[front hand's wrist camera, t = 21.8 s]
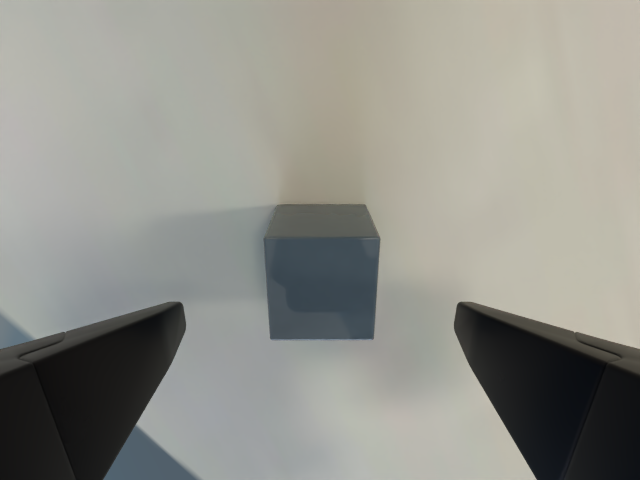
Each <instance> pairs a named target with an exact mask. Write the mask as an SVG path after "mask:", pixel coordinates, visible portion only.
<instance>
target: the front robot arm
mask: <svg viewBox="0 0 640 480" xmlns="http://www.w3.org/2000/svg"><path fill="white" fill-rule="evenodd" d="M185 330H186V321H185V315H184V308H183V305H182V303H181V302H167V303H163V304H160V305H157V306H153V307H150V308H146V309H143V310H139V311H136V312H132V313H129V314H125V315H122V316H118V317H115V318H112V319H108V320H105V321H101V322H98V323H94V324H91V325H87V326H84V327H80V328H77V329H73V330H70V331H67V332H66V333H65V332H61V333H58V334H54V335H51V336H47V337H44V338H40V339H37V340H33V341H29V342H26V343H22V344H18V345H14V346H11V347H7V348H3V349H0V480H103V479H104V477H105V476H106V474H107V472H108V471H109V469H110V467H111V465H112V464H113V462H114V460H115V459H116V457H117V455H118V454H119V452H120V450H121V448H122V447H123V445H124V443H125V442H126V440H127V438H128V437H129V435H130V433H131V432H132V430H133V428H134V426H135V425H136V423H137V421H138V420H139V418H140V416H141V415H142V413H143V411H144V410H145V408H146V406H147V404H148V403H149V401H150V399H151V398H152V396H153V394H154V393H155V391H156V389H157V387H158V386H159V384H160V382H161V381H162V379H163V377H164V376H165V374H166V372H167V371H168V369H169V367H170V365H171V363H172V361H173V359H174V356H175V354H176V352H177V349H178V347H179V345H180V342H181V340H182V338H183V335H184V333H185ZM454 330H455V333H456V335H457V338H458V340H459V342H460V345H461V347H462V349H463V352H464V354H465V356H466V359H467V361H468V363H469V365H470V367H471V369H472V371H473V372H474V374H475V376H476V377H477V379H478V381H479V382H480V384H481V386H482V387H483V389H484V391H485V393H486V394H487V396H488V398H489V399H490V401H491V403H492V404H493V406H494V408H495V410H496V411H497V413H498V415H499V416H500V418H501V420H502V421H503V423H504V425H505V426H506V428H507V430H508V432H509V433H510V435H511V437H512V438H513V440H514V442H515V443H516V445H517V447H518V448H519V450H520V452H521V454H522V455H523V457H524V459H525V460H526V462H527V464H528V465H529V467H530V469H531V471H532V472H533V474H534V476H535V477H536V479H537V480H640V349H637V348H633V347H629V346H626V345H622V344H618V343H614V342H611V341H607V340H603V339H600V338H596V337H593V336H589V335H586V334H582V333H579V332H575V333H574V332H573V331H570V330H567V329H563V328H560V327H556V326H553V325H549V324H546V323H542V322H539V321H535V320H532V319H528V318H525V317H522V316H518V315H515V314H511V313H508V312H504V311H501V310H497V309H494V308H490V307H487V306H483V305H480V304H477V303H473V302H459V303H458V305H457V308H456V315H455V321H454Z"/></svg>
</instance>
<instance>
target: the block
mask: <svg viewBox="0 0 640 480" xmlns="http://www.w3.org/2000/svg"><path fill="white" fill-rule="evenodd" d="M379 252H380V236H379V234H378V232H377V230H376V227H375V225H374V223H373V220H372V218H371V216H370V213H369V211H368V209H367V206H366V205H277V207H276V209H275V212H274V214H273V217H272V219H271V222H270V224H269V227H268V229H267V232H266V234H265V237H264V253H265V268H266V283H267V299H268V314H269V329H270V339H271V340H373V339H374V329H375V313H376V298H377V282H378V267H379Z"/></svg>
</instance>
